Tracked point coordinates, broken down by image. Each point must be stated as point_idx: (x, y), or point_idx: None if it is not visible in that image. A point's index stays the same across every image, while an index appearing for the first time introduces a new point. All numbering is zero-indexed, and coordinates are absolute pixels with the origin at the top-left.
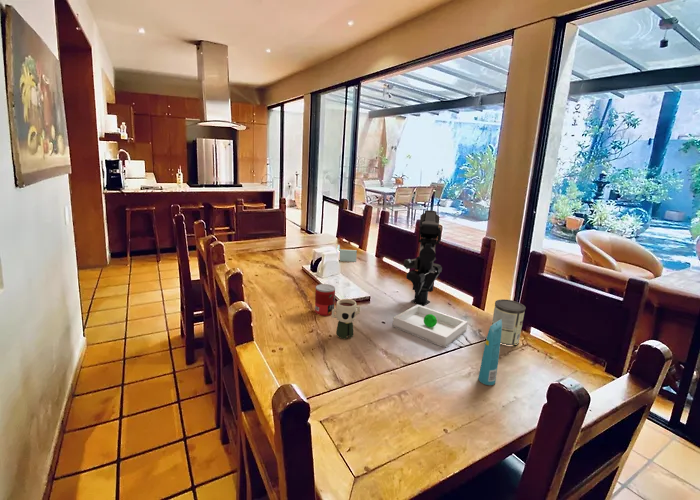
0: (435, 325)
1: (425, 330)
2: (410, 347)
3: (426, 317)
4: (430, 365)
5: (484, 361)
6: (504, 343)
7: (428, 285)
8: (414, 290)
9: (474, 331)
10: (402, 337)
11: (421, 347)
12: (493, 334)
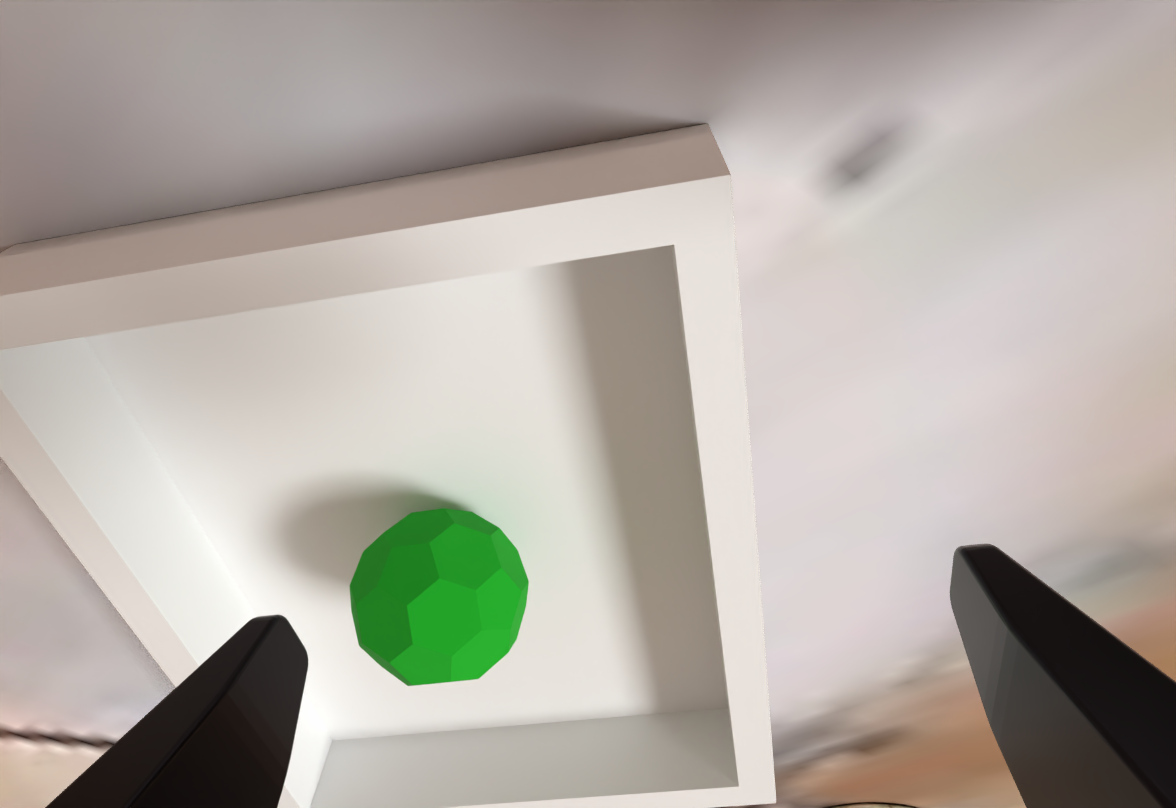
0: (540, 557)
1: None
2: (18, 616)
3: (360, 625)
4: (53, 783)
5: None
6: None
7: (1006, 686)
8: (139, 723)
9: (816, 731)
10: None
11: (125, 656)
12: None
